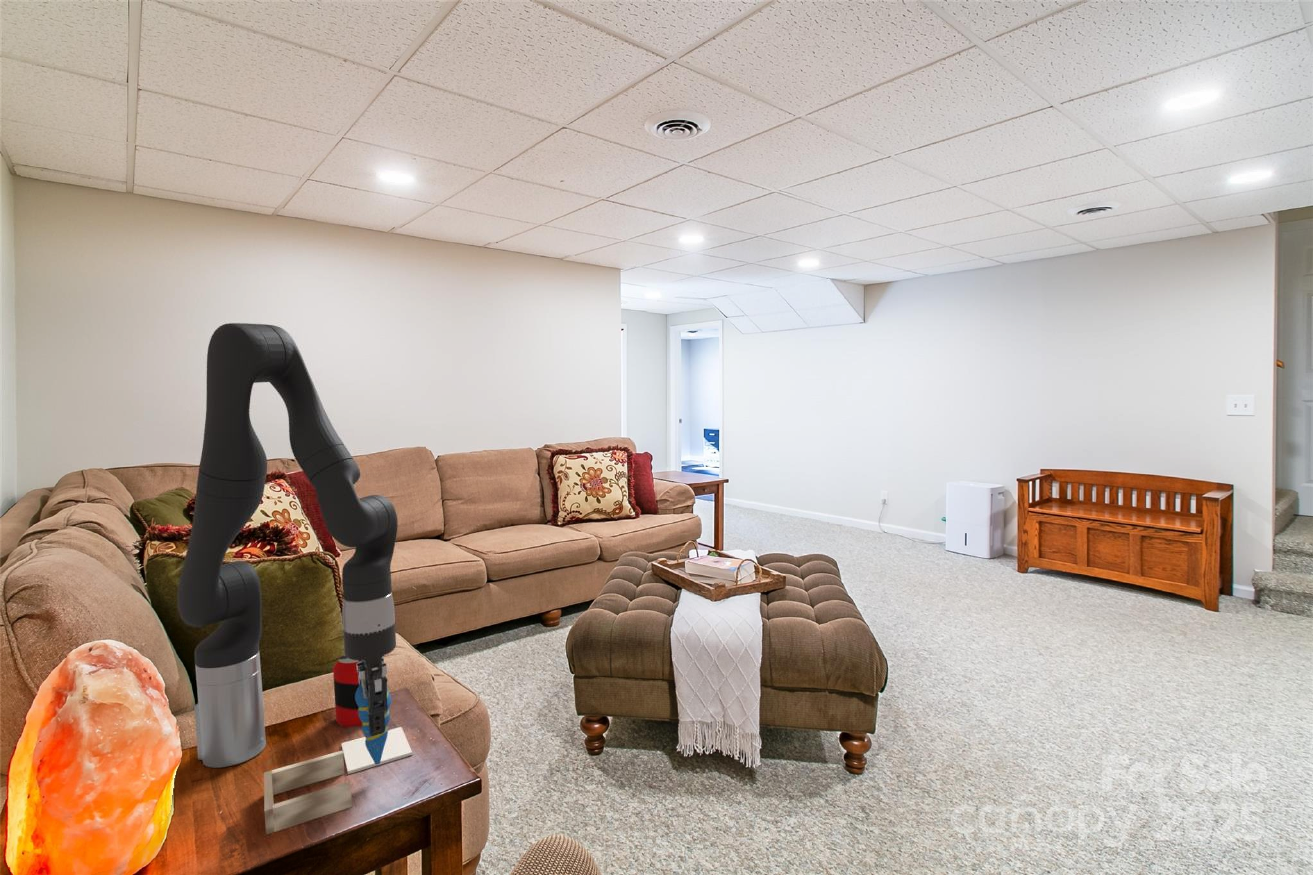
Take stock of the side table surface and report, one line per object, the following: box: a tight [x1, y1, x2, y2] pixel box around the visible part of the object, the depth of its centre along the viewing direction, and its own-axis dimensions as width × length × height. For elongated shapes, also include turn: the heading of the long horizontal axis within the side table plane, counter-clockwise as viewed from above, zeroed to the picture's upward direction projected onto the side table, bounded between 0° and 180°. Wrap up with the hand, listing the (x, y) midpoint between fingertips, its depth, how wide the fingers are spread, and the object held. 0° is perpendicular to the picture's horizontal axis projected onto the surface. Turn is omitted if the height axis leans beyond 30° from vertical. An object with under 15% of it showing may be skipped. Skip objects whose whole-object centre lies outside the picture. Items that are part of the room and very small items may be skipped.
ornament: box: [355, 684, 392, 764], centre depth 103 cm, size 5×5×15 cm
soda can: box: [332, 654, 362, 728], centre depth 123 cm, size 8×8×12 cm
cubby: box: [263, 750, 352, 835], centre depth 98 cm, size 11×11×4 cm
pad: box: [341, 726, 413, 775], centre depth 111 cm, size 10×10×1 cm
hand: (374, 725), depth 103 cm, fingers closed on ornament, 5 cm apart
